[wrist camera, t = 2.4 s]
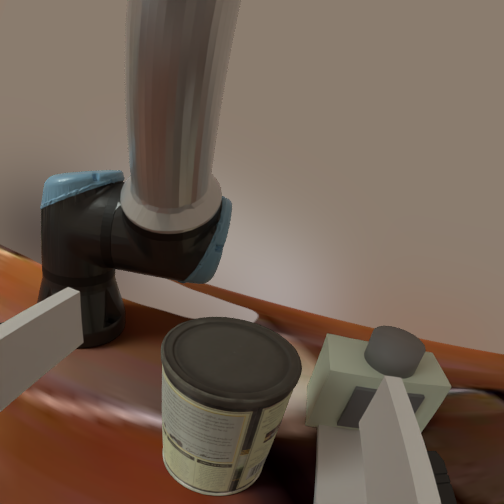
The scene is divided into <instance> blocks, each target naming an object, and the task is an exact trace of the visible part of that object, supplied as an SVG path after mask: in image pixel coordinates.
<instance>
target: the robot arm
mask: <svg viewBox="0 0 504 504" xmlns="http://www.w3.org/2000/svg"><path fill="white" fill-rule="evenodd" d="M240 2H241V0H127V13H126V33H125V34H126V35H125V101H126V121H127V122H126V123H127V137H128V150H129V162H130V172H131V175H130V177H129V178H128V179H127V180H126V181H125V182H123V180H124V176H123V172H122V171H120V170H118V171H116V170H102V171H85V172H72V173H63V174H57V175H53V176H51V177H49V178H48V179H47V180H46V182H45V184H44V189H43V197H42V205H41V207H40V209H41V253H42V272H43V278H42V282H41V287H40V291H39V296H38V301H37V304H36V305H34V306H32V307H30V308H28V309H27V310H25V311H23V312H21V313H19V314H18V315H16V316H14V317H12V318H11V319H9V320H7V321H5V322H3V323H0V412H1V411H2V410H3V409H4V408H5V407H7V406H8V405H9V404H10V403H11V402H12V401H14V400H15V399H16V398H17V397H18V396H19V395H21V394H22V393H23V392H24V391H25V390H26V389H28V388H29V387H30V386H31V385H32V384H34V383H35V382H36V381H37V380H38V379H40V378H41V377H42V376H43V375H44V374H46V373H47V372H48V371H49V370H50V369H52V368H53V367H54V366H55V365H57V364H58V363H59V362H60V361H61V360H63V359H64V358H65V357H66V356H68V355H69V354H70V353H71V352H73V351H74V350H75V349H76V348H85V347H94V346H98V345H102V344H105V343H107V342H109V341H111V340H113V339H115V338H116V337H117V336H118V335H120V333H121V332H122V331H123V329H124V327H125V307H124V304H123V301H122V298H121V295H120V292H119V289H118V286H117V282H116V279H115V269H118V270H123V271H128V272H134V273H139V274H144V275H150V276H155V277H161V278H166V279H171V280H176V281H178V282H180V283H186V282H189V283H198V284H203V283H206V282H208V281H209V280H211V279H212V277H213V276H214V274H215V272H216V270H217V267H218V265H219V262H220V259H221V255H222V250H223V247H224V243H225V241H226V238H227V234H228V229H229V225H230V220H231V212H232V203H231V201H230V200H229V199H227V198H225V197H223V196H222V193H221V187H220V185H219V182H218V181H217V179H216V178H215V177H214V176H213V174H211V172H212V164H213V156H214V149H215V142H216V136H217V129H218V122H219V116H220V109H221V103H222V97H223V91H224V85H225V79H226V74H227V68H228V63H229V56H230V52H231V46H232V41H233V36H234V31H235V26H236V21H237V17H238V12H239V7H240ZM359 430H360V437H361V445H362V454H363V463H364V473H365V483H366V495H367V504H457V503H456V499H455V496H454V492H453V489H452V485H451V484H450V479H449V476H448V475H447V473H448V472H447V469H446V466H445V463H444V461H443V459H442V458H441V457H440V456H439V454H438V453H437V452H436V451H427V450H426V447H425V444H424V441H423V438H422V435H421V432H420V429H419V426H418V423H417V420H416V417H415V414H414V411H413V408H412V405H411V403H410V400H409V397H408V394H407V392H406V389H405V386H404V384H403V381H402V379H401V378H400V377H393V376H386V375H385V376H384V378H383V380H382V382H381V383H380V385H379V387H378V389H377V391H376V393H375V395H374V397H373V398H372V400H371V402H370V404H369V406H368V407H367V409H366V411H365V413H364V414H363V416H362V418H361V420H360V421H359Z"/></svg>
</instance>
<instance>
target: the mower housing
mask: <svg viewBox="0 0 504 504" xmlns="http://www.w3.org/2000/svg"><path fill="white" fill-rule="evenodd" d="M385 375H386V376H393V377H400V378H401V379H402V381H403V384H404V386H405V389H406V392H407V394H408V397H409V400H410V403H411V405H412V408H413V411H414V414H415V417H416V420H417V423H418V426H419V429H420V432H422V431H423V429H424V428H425V427H426V425H427V424H428V422H429V421H430V419H431V418H432V417H433V415H434V414H435V412H436V411H437V409H438V408H439V406H440V405H441V403H442V402H443V400H444V398H445V397H446V395H447V394H448V392H449V390H450V389H451V387H452V386H451V385H450V383H449V381H448V379H447V377H446V376H445V374H444V372H443V370H442V369H441V367H440V365H439V363H438V362H437V360H436V358H435V356H434V355H433V353H430V352H425V346H424V344H423V343H422V342H421V341H420V340H419V339H418V338H417V337H416V336H414V335H413V334H411V333H409V332H407V331H405V330H402V329H400V328H396V327H391V326H380V327H377V328H375V329H374V330H373V333H372V335H371V338H370V340H369V342H367V341H362V340H357V339H352V338H347V337H342V336H338V335H333V334H328V333H327V335H326V338H325V341H324V344H323V347H322V349H321V352H320V355H319V357H318V360H317V363H316V365H315V368H314V371H313V373H312V376H311V378H310V381H309V383H308V386H307V405H306V423H305V426H311V427H317V451H316V475H315V492H314V504H367V495H366V483H365V473H364V463H363V454H362V445H361V437H360V430H359V421H360V420H361V418H362V416H363V414H364V413H365V411H366V409H367V407H368V406H369V404H370V402H371V400H372V398H373V397H374V395H375V393H376V391H377V389H378V387H379V385H380V383H381V382H382V380H383V378H384V376H385Z"/></svg>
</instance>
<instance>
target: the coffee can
mask: <svg viewBox="0 0 504 504" xmlns="http://www.w3.org/2000/svg"><path fill="white" fill-rule="evenodd" d="M161 361H162V430H163V460H164V463H165V466H166V468H167V470H168V472H169V473H170V474H171V475H172V477H173V478H174V479H175V480H176V481H177V482H179V483H180V484H181V485H183V486H184V487H186V488H188V489H190V490H192V491H195V492H198V493H201V494H205V495H214V496H224V495H231V494H235V493H238V492H240V491H242V490H245V489H246V488H248V487H249V486H250V485H252V484H253V483H254V482H255V481H256V480H257V478H258V477H259V475H260V473H261V471H262V468H263V464H264V462H265V460H266V458H267V455H268V453H269V450H270V448H271V445H272V443H273V441H274V438H275V436H276V433H277V431H278V428H279V426H280V423H281V421H282V418H283V415H284V413H285V410H286V407H287V405H288V402H289V399H290V397H291V394H292V391H293V389H294V388H295V386H296V384H297V382H298V380H299V378H300V375H301V371H302V365H301V360H300V357H299V355H298V353H297V351H296V350H295V348H294V347H293V346H292V345H291V344H290V343H289V342H288V341H287V340H286V339H284V338H283V337H282V336H280V335H279V334H277V333H275V332H274V331H272V330H270V329H268V328H266V327H263V326H261V325H258V324H255V323H252V322H248V321H245V320H240V319H234V318H227V317H206V318H198V319H193V320H190V321H186V322H184V323H181V324H179V325H177V326H176V327H174V328H173V329H172V330H170V331H169V332H168V333H167V335H166V336H165V338H164V340H163V342H162V345H161Z"/></svg>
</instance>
